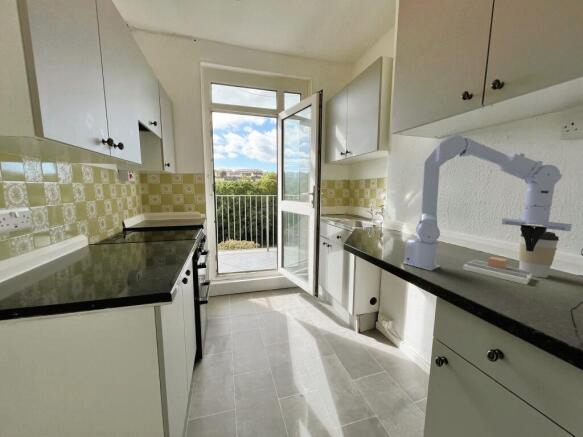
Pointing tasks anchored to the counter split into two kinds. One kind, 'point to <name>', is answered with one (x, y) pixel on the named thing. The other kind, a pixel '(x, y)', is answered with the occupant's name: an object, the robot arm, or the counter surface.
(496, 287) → the counter surface
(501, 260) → the switch
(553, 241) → the coffee cup
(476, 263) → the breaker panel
